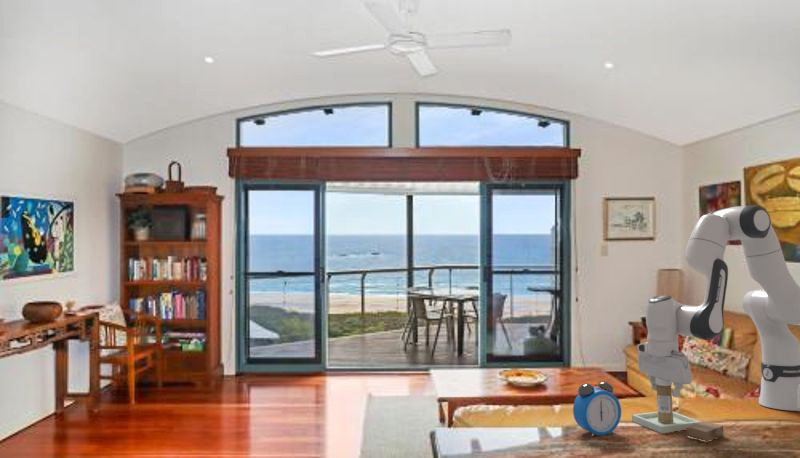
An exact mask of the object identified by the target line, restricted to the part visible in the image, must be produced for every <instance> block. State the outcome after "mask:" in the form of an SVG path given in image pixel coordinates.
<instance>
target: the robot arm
mask: <svg viewBox="0 0 800 458" xmlns="http://www.w3.org/2000/svg"><path fill="white" fill-rule="evenodd" d="M776 233H777V232H775V229H774V227H773V226H772V221H771V216H770V214H769V211H767V210H766V209H765V208H764V207H763V206H761V205H755V204H754V205H753V204H750V205H749V204H748V205H739V206H738V205H736V206H730V207H727V208H722V209H717V210H713V211H711V212H709V213H706V214H704V215H701V217H699V219H698V221H697V222H696V223H695V226H694V227H693V229H692V232H691V234H690V237H689V239H688V241H687V244H686V248H685V253H684V258H685V261H686V262H687V264H688V265H689V267H690V268H691V269H693V270H695V272H698V273H699V274H702V275H704V276H705V279H706V286H705V291H704V292H705V293H704V296H703V298H704V299H703V302H702V303H701V304H700V305H689V304H684V303H680V302H678V301H677V300H675V299H674V297H672V296H670V295H667V294H666V295H656V296H652V297H650V298H649V299H647V303H646V305H645V306H646V308H645V326H646V328H647V335H646V336H647V337H646V342H642V343H639V344H637V346H636V347H637V351H638V355H637V362H638V363H637V364H638V369H639V371H640V373H641V374H644V375H647V376H648V377H647V379H648V381H649V383H650V386H651V390H653V391H657V386H656V378H661V379H664V380H667V381H671V382H672V383H673V386H674V389H673V390H672V389H671V391H672V397H675V398H680V397H681V390H683V389H682V388H683V386H684V385H690V384H691V383H692V381H693V375H692V374H693V373H692V369H691V364H690V360H689V359H688V356H687V355H685V353H684V352H680V350H679V338H678V335H680V336H685V337H691V338H697V339H699V340H704V341H713V340H715V338H717V337H718V336H719V335H720V334H721V333H722V332H723V329H724V324H725V323H724V322H725V321H724V311H725V310H724V309H725V308H724V307H725V301H726V294H727V287H728V278H729V268H728V265H727V263H726V262H725V261H724V257H725V256H724V255H725V251H726V248H727V244H728V241H740V242H741V247H742V250H743V251H742V252H743V255H744V259H745V262H746V265H747V269H748V272H749V276H750V277H751V279H753V281H755V282H757V284H759V285H760V286H761V288H759V289H754V290H749V291H748V292H747V293H746V294H745V295H744V296H743V298H742V309H743V311H744V313H746V315H747V316H749V318H750V319H751V320H752V322H753V323H754V326H755V327H756V330H757V333H758V336H759V340H760V348H761V349H760V351H761V362H760V371H761V374H762V376H761V378H760V379H761V382H760V395H759V396H758V404H759V405H761V406H763V407H766V408H768V409H769V408H771V409H775V410H780V411H792V412H793V411H795V412H800V341H799V339H798V338H797V337H796V336H795V335H794V334H793V333H792V332H791V331H790V329H789V327H788V326H789V325H800V285H799V284H798V283H797V282H796V280H795V279H794V277H793V276H792V274H791V273H790V270H789V268H788V265H787V262H786V259H785V257H784V253H783V250H782V247H781V246H782V245H781V243H780V240H779V237H778V236H777V234H776Z"/></svg>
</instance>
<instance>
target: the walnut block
mask: <svg viewBox="0 0 800 458" xmlns="http://www.w3.org/2000/svg"><path fill="white" fill-rule="evenodd" d="M685 434H686V435H685V436H690V437H693V438H697V439H701V440H705V441H709V440H712V439H716V438H718V439H720V438H719V437H721V438H722V437H724V426H723V425H722V424H721V425H720V424H717V423H711V422H707V421H704V420H703V421H700V422H699V423H697V424H694V425H691V426H688V427H686V431H685ZM716 440H717V439H716Z"/></svg>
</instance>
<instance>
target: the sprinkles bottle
mask: <svg viewBox="0 0 800 458" xmlns="http://www.w3.org/2000/svg"><path fill="white" fill-rule="evenodd" d="M672 383H673V382H671V381H667V380H664V379H661V378H656V386H657V390H656V406H657V412H658V421H659V422H661V423H667V424H670V423H673V421H674V420H673V412H674V407H673V406H674V405H673V396H672V385H673V384H672Z"/></svg>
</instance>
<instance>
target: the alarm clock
mask: <svg viewBox="0 0 800 458" xmlns="http://www.w3.org/2000/svg"><path fill="white" fill-rule="evenodd" d="M614 391H615V390H614V387H613V385H612V384H610V383H609V381H607V382H606V381H601V382H599V383H597V384H594V385H592V384H590V383H582V384H580V386H579V387H578V389H577V393H578V394H577V396H576V397H575V399H574V403H573V408H572V413H573V418H574V421H575V422H576V424H577V425H578V426H579V427H580V428H581V429H583V430H585V431H587V432H589V433H590V434H591V435H592V434H594V435H595V434H596V436H606V435H609V434H611V435H612V434H613V431H614V430H616V428H617V427H618V425H619V423H620V421H621V418H622V407H621V403H620V401H619V399H618V398H617V397H616V395H615V394H614Z"/></svg>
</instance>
